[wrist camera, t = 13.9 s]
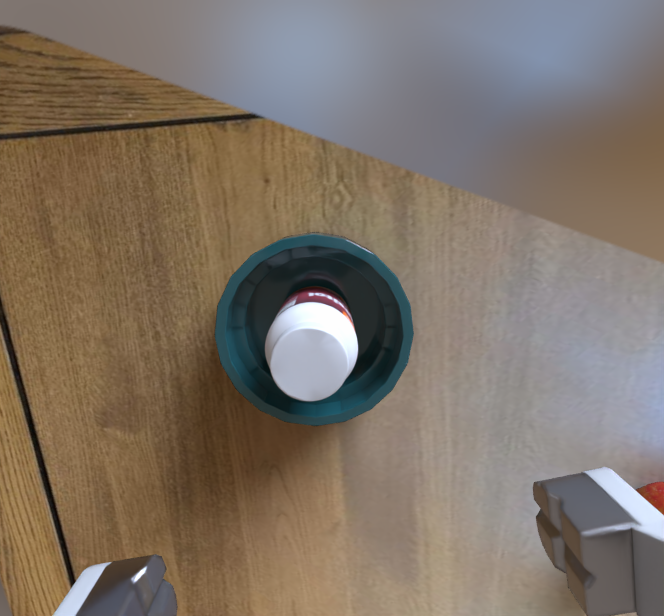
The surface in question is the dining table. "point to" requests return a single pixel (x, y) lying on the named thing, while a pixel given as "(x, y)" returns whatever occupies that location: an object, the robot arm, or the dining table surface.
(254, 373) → the bowl
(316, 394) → the pill bottle
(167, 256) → the dining table surface
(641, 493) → the fruit
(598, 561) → the robot arm
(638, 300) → the dining table surface
